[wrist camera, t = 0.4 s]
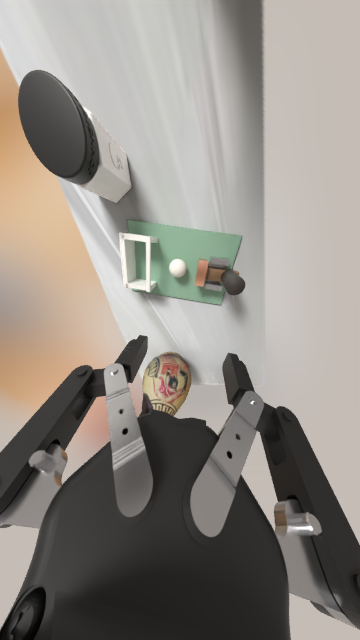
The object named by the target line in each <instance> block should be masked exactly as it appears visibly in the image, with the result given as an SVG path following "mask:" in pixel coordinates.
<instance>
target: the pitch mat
mask: <svg viewBox="0 0 360 640" xmlns="http://www.w3.org/2000/svg"><path fill="white" fill-rule="evenodd" d="M127 226H128V233H130V234H137V235H144V236H151V237H157V238H158V243H151V281H156V286H155V287H154V288H153V289H152V290H151V291H150V292H146V290H140V289H133V288H132V290H134V291H140V292H146V293H152V294H158V295H164V296H170V297H176V298H182V299H188V300H194V301H200V302H206V303H212V304H218V305H221V302H222V299H223V296H224V293H225V287H224V285H223V283H221V284H222V286H223V288H222V291H216V290H210V289H205V287H202V286H196V285H195V279H196V273H197V268H198V262H199V259H204V260H208V262H210V257H211V256H214V257H221V258H227V259H230V260H231V261H230V264H229V266H226V269H227V270H232V267H233V264H234V260H235V257H236V254H237V251H238V248H239V244H240V241H241V238H242V236H239V235H232V234H225V233H218V232H211V231H204V230H197V229H190V228H183V227H175V226H168V225H161V224H154V223H147V222H140V221H133V220H127ZM135 259H136V278H137V279H143V280H146V242H142V241H135ZM175 259H181V260H183V261H184V262H185V264H186V272H185V274H184V275H183V276H181V277H174V276H173V275H172V274H171V273H170V271H169V266H170V263H171V262H172V261H173V260H175ZM208 266H209V264H208ZM205 280H206V279H205ZM204 284H205V282H204Z"/></svg>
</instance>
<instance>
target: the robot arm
mask: <svg viewBox="0 0 360 640" xmlns="http://www.w3.org/2000/svg"><path fill="white" fill-rule="evenodd" d="M147 347H148V337H147V336H142V335H139V337H138V338H137V340H135V339H133V340H131V341H130V342H129V343H128V344H127V346H126V347H125V349H124V350H123V351H122V353H121V354H120V356H119V358H118V359H117V360H116V361H115V363H114V364H111V365H109V366H108V367H106V368H105V369H95V370H93V369H92V367H91V366H88V365H84V366H80V367H78V368H76V369H75V370H73V371H72V372H71V374H70V375H69V376H68V377H67V378H66V379H65V380H64V381H63V383H62V384H61V385H60V386H59V387H58V388H57V389H56V391H55V392H54V393H53V394H52V395H51V396H50V397H49V399H48V400H47V401H46V402H45V403H44V404H43V405H42V406H41V407H40V409H39V410H38V411H37V412H36V413H35V414H34V415H33V416H32V418H31V419H30V420H29V421H28V422H27V423H26V424H25V425H24V427H23V428H22V429H21V430H20V431H19V432H18V433H17V435H16V436H15V437H14V438H13V439H12V440H11V441H10V442H9V444H8V445H7V446H6V447H5V448H4V449H3V450H2V451H1V453H0V528H7V527H9V526H12V525H17V526H24V527H32V528H40V530H39V535H38V539H37V543H36V547H35V551H34V554H33V558H32V561H31V564H30V566H29V569H28V572H27V575H26V577H25V580H24V582H23V585H22V587H21V590H20V592H19V594H18V597H17V598H16V601H15V603H14V605H13V607H12V609H11V611H10V613H9V614H8V617H7V618H6V620H5V622H4V624H3V626H2V627H1V629H0V640H291V638H290V626H289V593H292V594H294V595H297V596H299V597H302V598H305V599H307V600H310V602H311V603H312V604H313V605H314V607H316V608H317V609H318V610H319V611H320V612H322V613H324V614H326V615H328V616H331V617H333V618H335V619H337V620H340V621H342V622H344V623H346V624H348V625H351V626H353V627H355V628H357V629H359V630H360V545H359V543H358V541H357V539H356V537H355V535H354V533H353V531H352V529H351V527H350V525H349V522H348V520H347V518H346V516H345V514H344V512H343V510H342V508H341V506H340V504H339V502H338V500H337V498H336V496H335V494H334V492H333V490H332V488H331V486H330V484H329V482H328V480H327V478H326V476H325V474H324V472H323V470H322V468H321V466H320V464H319V462H318V460H317V458H316V456H315V454H314V452H313V450H312V448H311V446H310V443H309V442H308V439H307V437H306V435H305V434H304V431H303V429H302V427H301V426H300V423H299V421H298V419H297V418H296V416H295V415H294V414H293V413H292V412H291V411H290V410H289V409H287V408H285V407H282V406H279V407H277V408H274V407H272V406H270V405H268V404H266V403H264V402H263V400H262V399H261V397H260V396H259V395H258V394H257V393H255V391H254V388H253V385H252V382H251V380H250V377H249V374H248V372H247V369H246V366H245V365H244V363H243V362H242V361H239V359H238V356H237V354H232V353H228V354H227V356H226V358H225V361H224V363H223V367H222V369H223V375H224V381H225V387H226V393H227V399H228V404H232V405H233V406H234V409H233V410H232V412H231V414H230V416H229V417H228V419H227V420H226V422H225V424H224V425H223V427H222V429H221V430H220V432H219V434H218V435H217V434H216V433H215V432H214V431H213V430H212V429H211V428H209V427H208V426H206V421H205V420H201V419H196V418H185V419H177V418H175V417H174V416H172V415H170V414H168V413H166V412H164V411H159V410H155V409H152V411H151V413H147V414H144V415H141V416H139V417H138V418H137V416H136V412H135V408H134V404H133V401H132V397H131V393H130V390H129V388H128V382H129V383H132V382H133V380H134V378H135V376H136V374H137V372H138V370H139V368H140V365H141V363H142V361H143V359H144V357H145V355H146V352H147ZM100 396H106V404H107V413H108V420H109V421H108V422H109V431H110V440H111V441H110V442H108V443H107V444H106V445H105V446H104V447H103V448H102V449H101V450H99V451H98V453H96V454H95V455H94V456H93V457H91V458H90V459H89V460H88V461H87V462H86V463H85V464H84V465H82V466H81V467H80V468H79V469H78V470H77V471H76V472H74V473H73V474H72V475H71V476H70V477H69V478H68V479H67V480H66V481H65V483H64V484H63V485H62V482H61V479H62V474H63V471H64V469H65V466H66V463H67V454H66V452H65V449H66V448H67V446H68V444H69V442H70V441H71V439H72V437H73V435H74V434H75V432H76V431H77V429H78V427H79V426H80V424H81V422H82V421H83V419H84V417H85V415H86V413H87V412H88V410H89V409H90V407H91V405H92V404H93V402H94V400H95V399H96V397H100ZM257 431H259V432H260V435H261V439H262V443H263V446H264V450H265V454H266V458H267V461H268V466H269V469H270V473H271V476H272V481H273V484H274V488H275V492H276V496H277V500H278V502H277V503H276V505H275V508H274V517H275V525H276V527H275V532H274V530H273V528H272V526H271V524H270V523H269V521H268V519H267V517H266V516H265V514H264V512H263V511H262V509H261V507H260V505H259V504H258V502H257V500H256V499H255V497H254V495H253V494H252V492H251V490H250V489H249V487H248V485H247V483H246V482H245V480H244V478H243V477H242V475H241V472H242V469H243V467H244V464H245V461H246V459H247V456H248V454H249V451H250V448H251V445H252V443H253V440H254V438H255V435H256V432H257Z"/></svg>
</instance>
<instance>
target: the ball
mask: <svg viewBox="0 0 360 640" xmlns="http://www.w3.org/2000/svg"><path fill="white" fill-rule="evenodd" d="M169 271H170V273H171V274H172V275H173V276H174V277H181V276H183V275H184V274H185V272H186V264H185V262H184V261H183V260H181V259H175V260H173V261H172V262H171V263H170V266H169Z"/></svg>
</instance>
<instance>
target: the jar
mask: <svg viewBox="0 0 360 640" xmlns="http://www.w3.org/2000/svg"><path fill="white" fill-rule="evenodd" d="M18 106H19V115H20V120H21V123H22V127H23V130H24V133H25V136H26V138H27V140H28V142H29V144H30V146H31V148H32V150H33V152H34V153H35V155H36V156H37V158H38V159H39V160H40V162H41V163H42V164H43V165H44V166H45V167H46V168H47V169H48V170H49V171H51V172H52V173H53V174H55V175H57V176H59V177H61V178H63V179H65V180H68V181H70V182H72V183H75V184H77V185H78V186H80V187H82V188H83V189H85V190H87V191H90V192H92V193H94V194H96V195H99V196H101V197H103V198H105V199H108V200H110V201H112V202H114V203H117V202H118V201H119V200H120V199H121V198H122V197H123V196H124V195H125V194H126V193H127V192H128V190H129V189H130V188H131V181H130V175H129V169H128V162H127V156H126V153H125V152H124V151H123V149H122V148H121V147H120V146H119V145H118V144H117V142H116V141H115V140H114V139H113V138H112V136H111V135H110V134H109V133H108V132H107V131H106V129H105V128H104V127H103V126H102V125H101V123H100V122H99V121H98V120H97V119H96V118H95V116H94V115H93V114H92V113H91V112H90V111H89V110H87V109H86V108H84V107H83V106H82V105H81V104H80V103H79V101H78V100H77V99H76V97H75V96H74V95H73V94H72V93H71V92H70V90H69V89H68V88H67V87H66V86H65V85H63V84H62V83H61V82H60V81H59V80H58V79H57V78H56V77H54V76H53V75H52V74H50V73H48V72H46V71H42V70H34V71H31V72H29V73H28V74H27V75H26V76H25V77H24V78H23V80H22V82H21V85H20V89H19V96H18Z"/></svg>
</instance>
